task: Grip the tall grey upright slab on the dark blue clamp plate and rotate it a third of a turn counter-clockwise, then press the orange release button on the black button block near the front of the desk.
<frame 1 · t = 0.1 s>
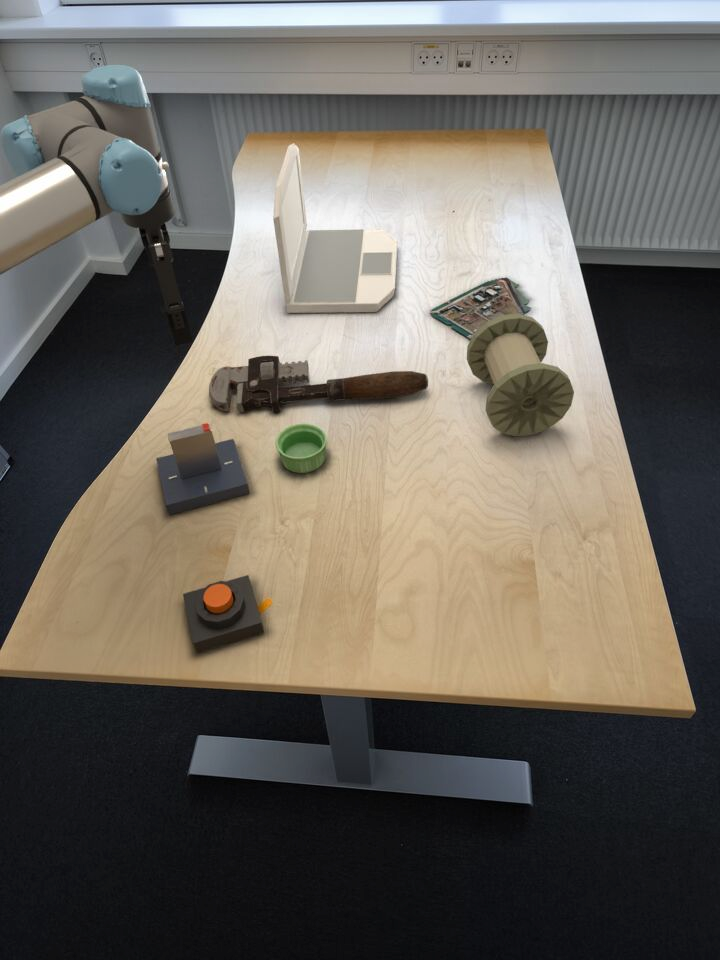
hand: (177, 319, 118), 26 cm above the table, tool pointing down, fingers open, 13 cm apart
clamp block: (203, 480, 129), on the table
ramekin: (303, 458, 132), on the table
release block: (224, 618, 109), on the table
laptop: (345, 273, 174), on the table
grey upright slab: (195, 451, 124), point 7 cm above the table, hinge at 0.0°
release button: (218, 598, 105), point 5 cm above the table, slide at 0.2 cm
spool: (513, 407, 138), on the table
circuit board: (480, 309, 161), on the table
pipe wrench: (318, 389, 145), on the table
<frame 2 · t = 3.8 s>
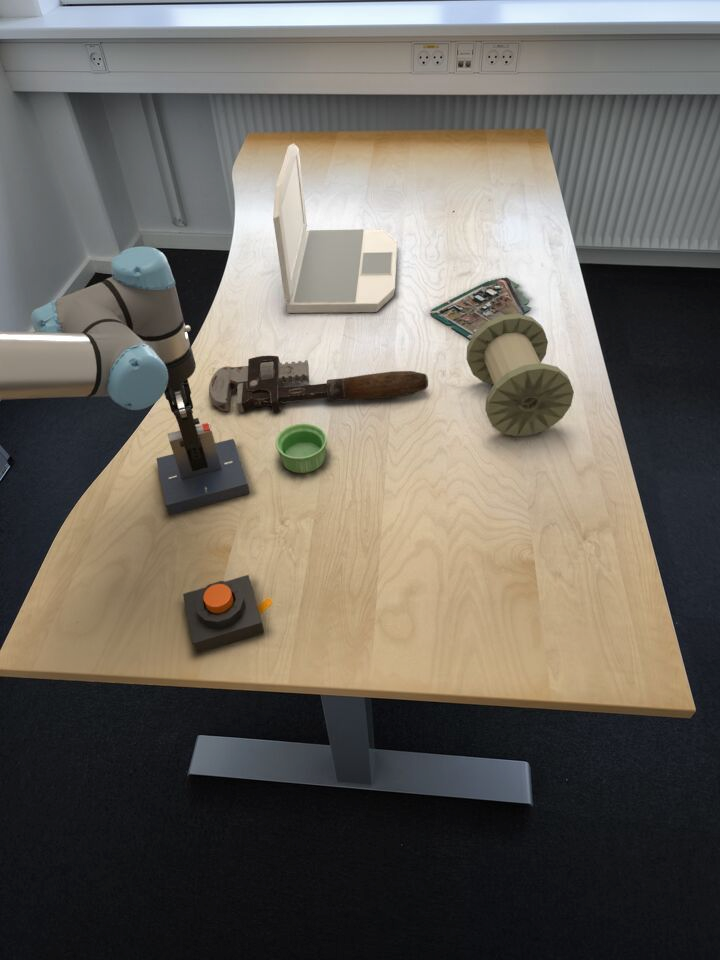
hand: (198, 462, 126), 4 cm above the table, tool pointing down, fingers closed on grey upright slab, 2 cm apart
grey upright slab: (195, 451, 124), point 7 cm above the table, hinge at -0.1°, touching gripper
everything else where it was.
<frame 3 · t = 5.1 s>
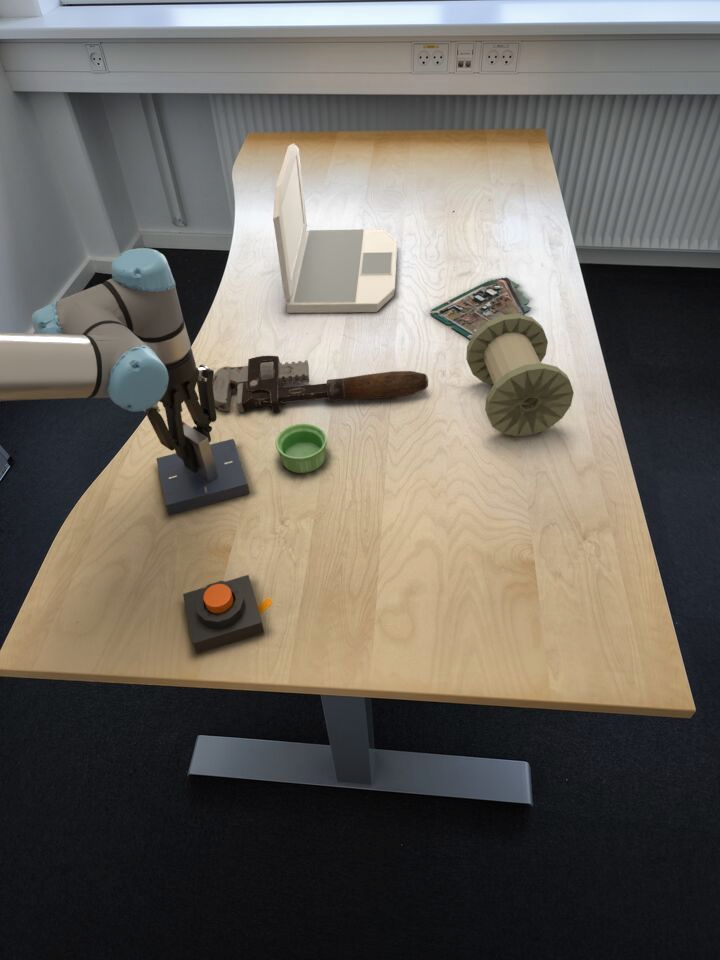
hand: (199, 463, 126), 4 cm above the table, tool pointing down, fingers open, 2 cm apart
grey upright slab: (195, 451, 124), point 7 cm above the table, hinge at 120.0°
everything else where it was.
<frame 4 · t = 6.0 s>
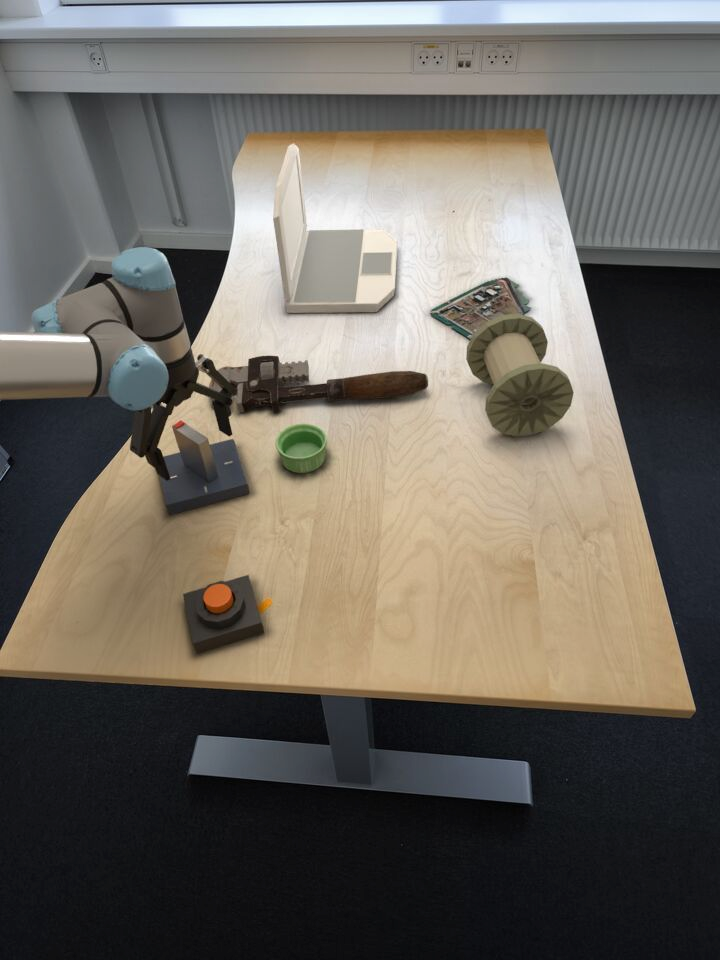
hand: (195, 453, 124), 7 cm above the table, tool pointing down, fingers open, 13 cm apart
nothing on the table moved.
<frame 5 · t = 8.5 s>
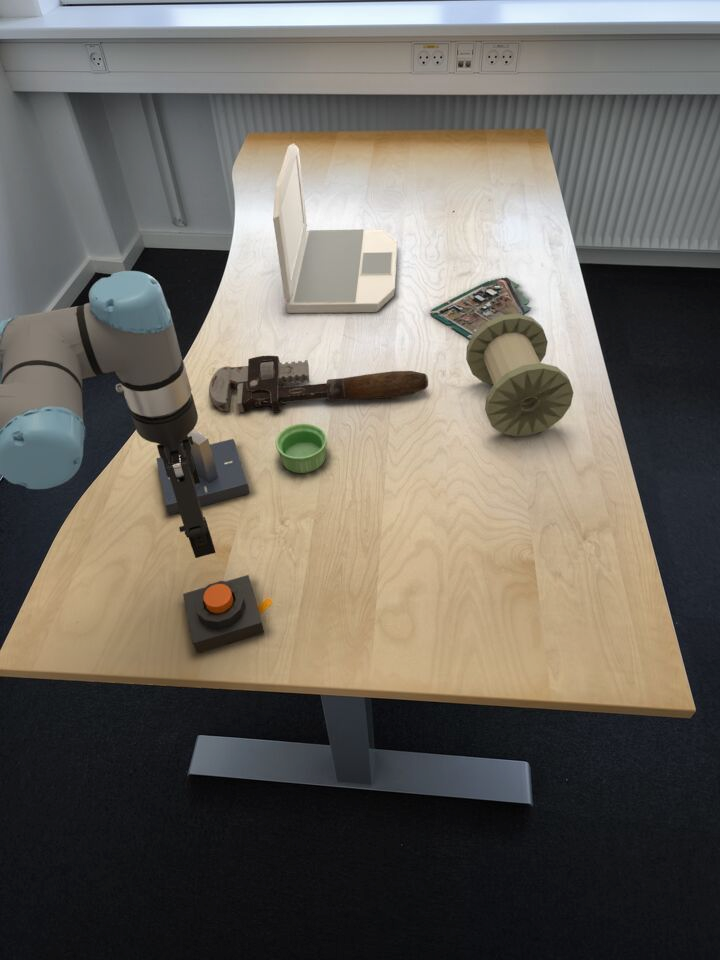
hand: (197, 517, 102), 16 cm above the table, tool pointing down, fingers open, 13 cm apart
nothing on the table moved.
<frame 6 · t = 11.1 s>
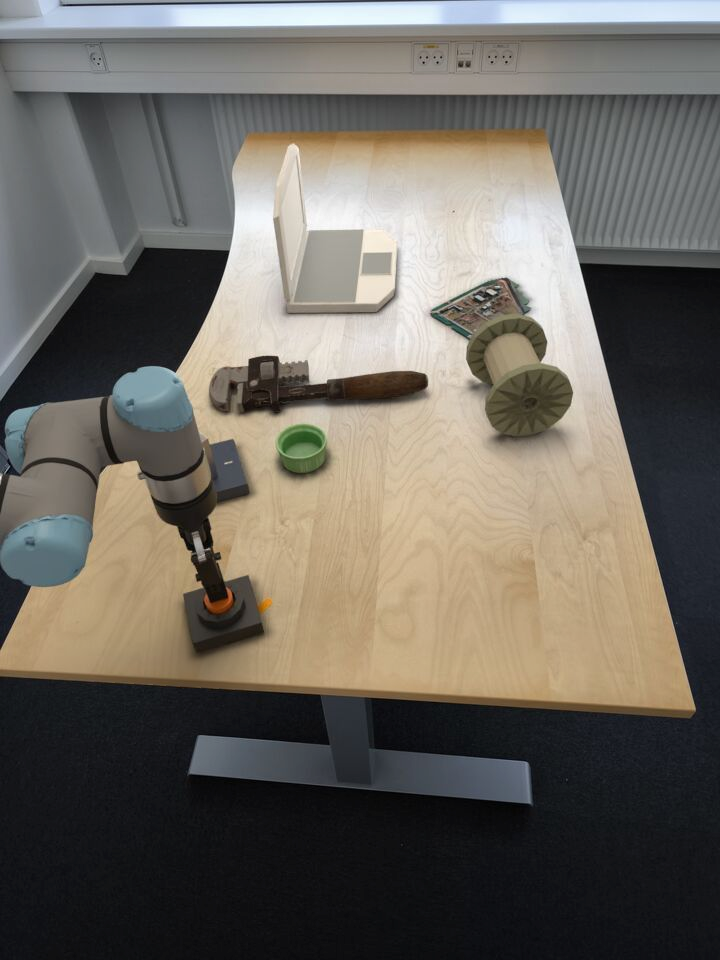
hand: (218, 596, 105), 6 cm above the table, tool pointing down, fingers closed
release button: (219, 600, 106), point 4 cm above the table, slide at -0.4 cm, touching gripper
everything else where it was.
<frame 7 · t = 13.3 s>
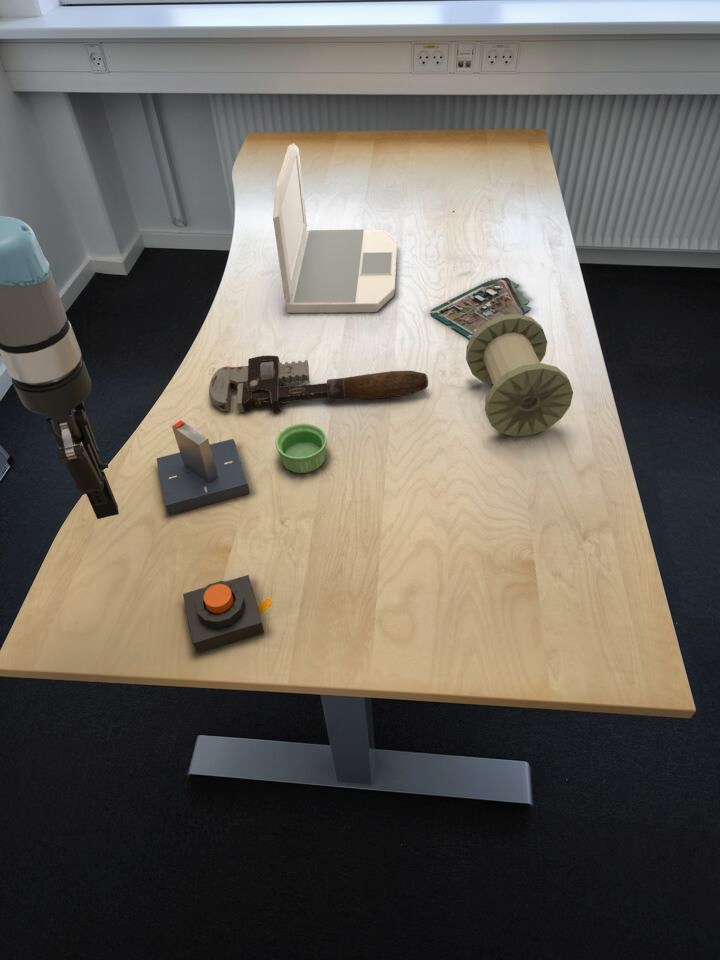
hand: (107, 512, 95), 22 cm above the table, tool pointing down, fingers closed
release button: (218, 598, 105), point 5 cm above the table, slide at 0.2 cm
everything else where it was.
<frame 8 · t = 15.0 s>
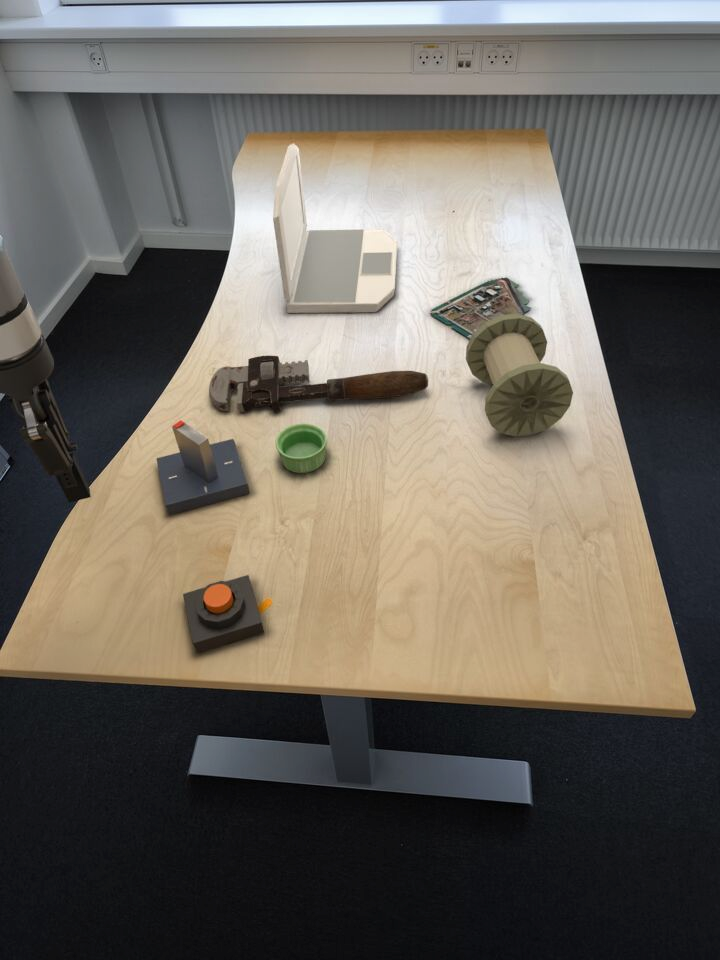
hand: (79, 495, 94), 24 cm above the table, tool pointing down, fingers closed
nothing on the table moved.
at the end: grey upright slab at +120° (first picture: +0°); release button pushed in 1.0 cm at the most during the clip, back to 0.2 cm at the end; release button slide at 0.2 cm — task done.
